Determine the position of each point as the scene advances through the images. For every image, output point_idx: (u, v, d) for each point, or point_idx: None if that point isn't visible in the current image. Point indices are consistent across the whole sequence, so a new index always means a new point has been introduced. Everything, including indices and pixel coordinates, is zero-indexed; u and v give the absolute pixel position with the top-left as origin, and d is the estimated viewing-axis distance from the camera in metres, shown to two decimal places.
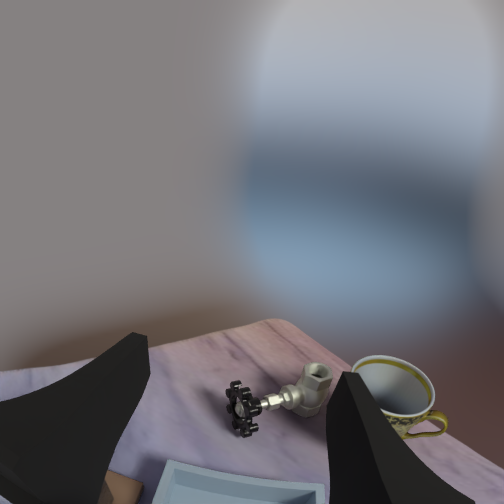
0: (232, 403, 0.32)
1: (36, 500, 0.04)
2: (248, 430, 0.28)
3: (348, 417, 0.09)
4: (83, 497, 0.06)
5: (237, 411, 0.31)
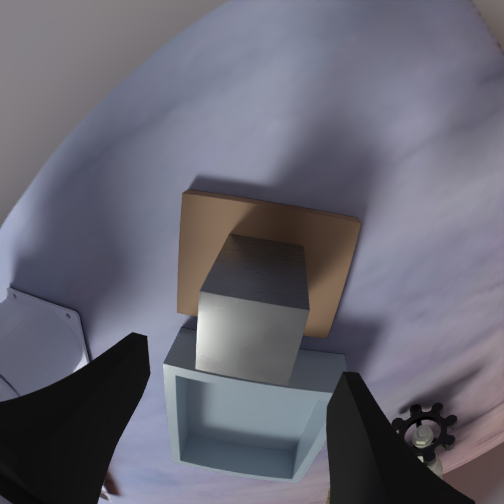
0: (437, 420, 0.20)
1: (36, 500, 0.04)
2: None
3: (348, 417, 0.09)
4: (83, 497, 0.06)
5: (420, 432, 0.20)
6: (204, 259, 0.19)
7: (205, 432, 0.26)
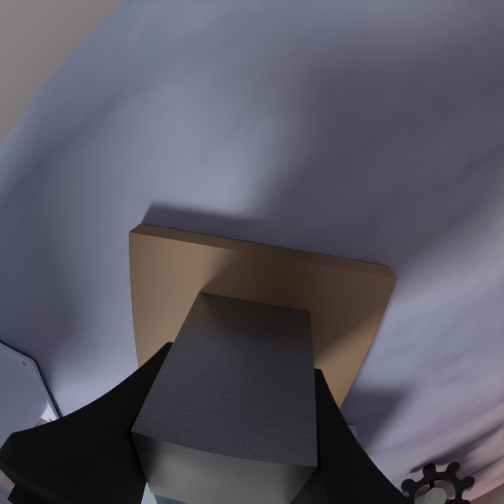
0: (452, 482, 0.15)
1: None
2: None
3: None
4: None
5: (433, 496, 0.15)
6: (167, 323, 0.13)
7: None
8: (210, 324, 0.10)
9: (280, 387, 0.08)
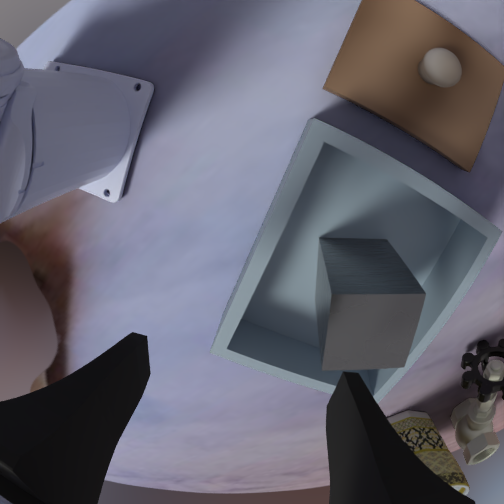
0: None
1: (36, 500, 0.04)
2: (466, 376, 0.18)
3: (348, 416, 0.09)
4: (83, 497, 0.06)
5: (494, 365, 0.18)
6: (378, 37, 0.13)
7: (264, 314, 0.21)
8: (337, 249, 0.16)
9: (391, 268, 0.14)
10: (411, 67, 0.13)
